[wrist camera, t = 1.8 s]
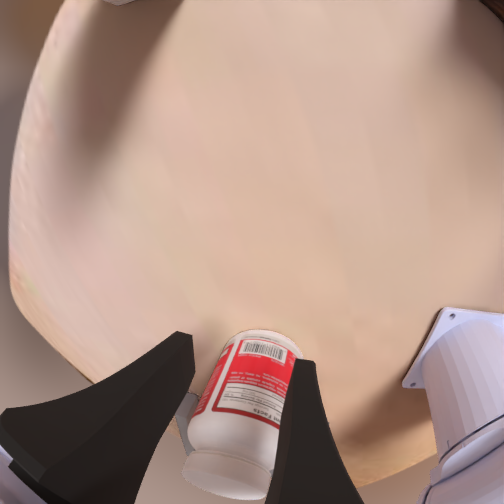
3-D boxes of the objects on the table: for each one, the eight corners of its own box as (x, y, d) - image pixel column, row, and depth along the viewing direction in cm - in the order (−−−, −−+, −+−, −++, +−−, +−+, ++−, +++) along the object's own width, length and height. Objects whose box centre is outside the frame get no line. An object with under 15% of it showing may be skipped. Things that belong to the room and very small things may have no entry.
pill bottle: (251, 387, 22) (211, 499, 12) (211, 337, 21) (145, 458, 11) (318, 372, 20) (299, 505, 10) (282, 314, 18) (238, 469, 9)
